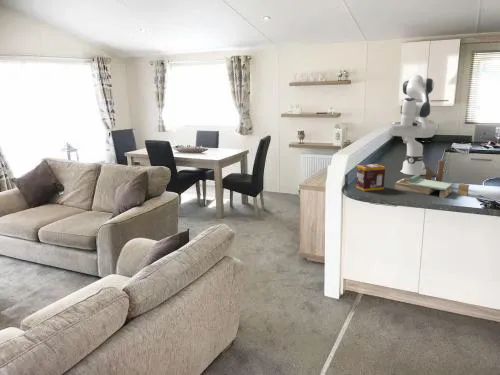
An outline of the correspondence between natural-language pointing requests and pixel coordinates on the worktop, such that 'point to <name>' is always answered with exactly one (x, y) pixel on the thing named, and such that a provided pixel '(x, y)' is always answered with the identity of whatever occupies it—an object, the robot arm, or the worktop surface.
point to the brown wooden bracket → (431, 173)
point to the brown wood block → (463, 189)
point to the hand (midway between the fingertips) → (405, 143)
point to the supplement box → (370, 177)
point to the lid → (428, 183)
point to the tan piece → (419, 188)
